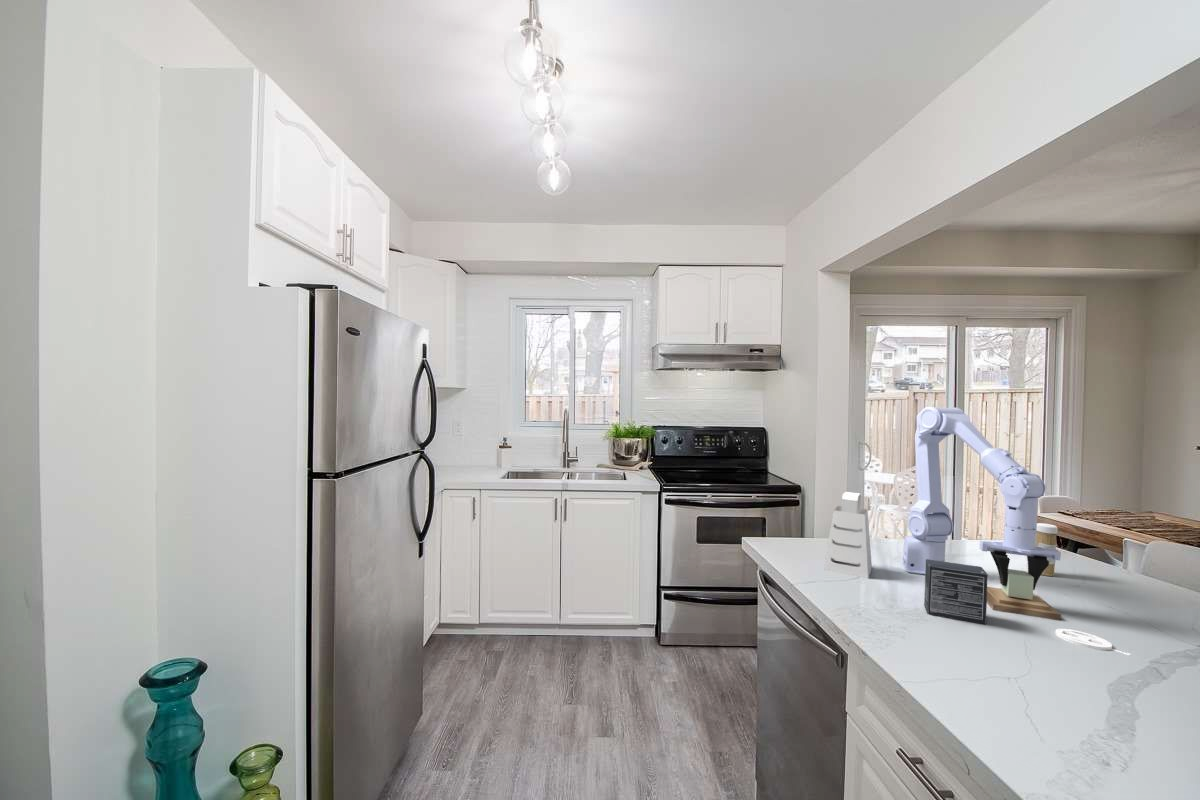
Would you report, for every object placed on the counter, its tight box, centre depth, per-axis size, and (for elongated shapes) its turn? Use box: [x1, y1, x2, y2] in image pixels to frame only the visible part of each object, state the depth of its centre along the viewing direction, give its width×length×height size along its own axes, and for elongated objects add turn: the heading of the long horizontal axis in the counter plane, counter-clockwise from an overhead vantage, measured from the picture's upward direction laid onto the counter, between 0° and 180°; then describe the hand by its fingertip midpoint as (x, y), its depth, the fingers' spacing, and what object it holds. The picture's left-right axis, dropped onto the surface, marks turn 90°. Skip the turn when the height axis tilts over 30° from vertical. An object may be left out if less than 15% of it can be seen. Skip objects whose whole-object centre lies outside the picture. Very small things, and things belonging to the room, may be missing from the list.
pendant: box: [1054, 628, 1132, 657], centre depth 103 cm, size 7×11×1 cm, turn 37°
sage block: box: [1000, 568, 1034, 600], centre depth 122 cm, size 4×4×5 cm
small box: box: [923, 559, 989, 625], centre depth 115 cm, size 11×6×10 cm, turn 65°
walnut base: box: [987, 586, 1062, 621], centre depth 122 cm, size 12×12×2 cm
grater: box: [823, 491, 873, 579], centre depth 143 cm, size 10×10×20 cm
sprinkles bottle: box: [1036, 522, 1059, 577], centre depth 146 cm, size 5×5×14 cm
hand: (1017, 586), depth 121 cm, fingers closed on sage block, 4 cm apart
